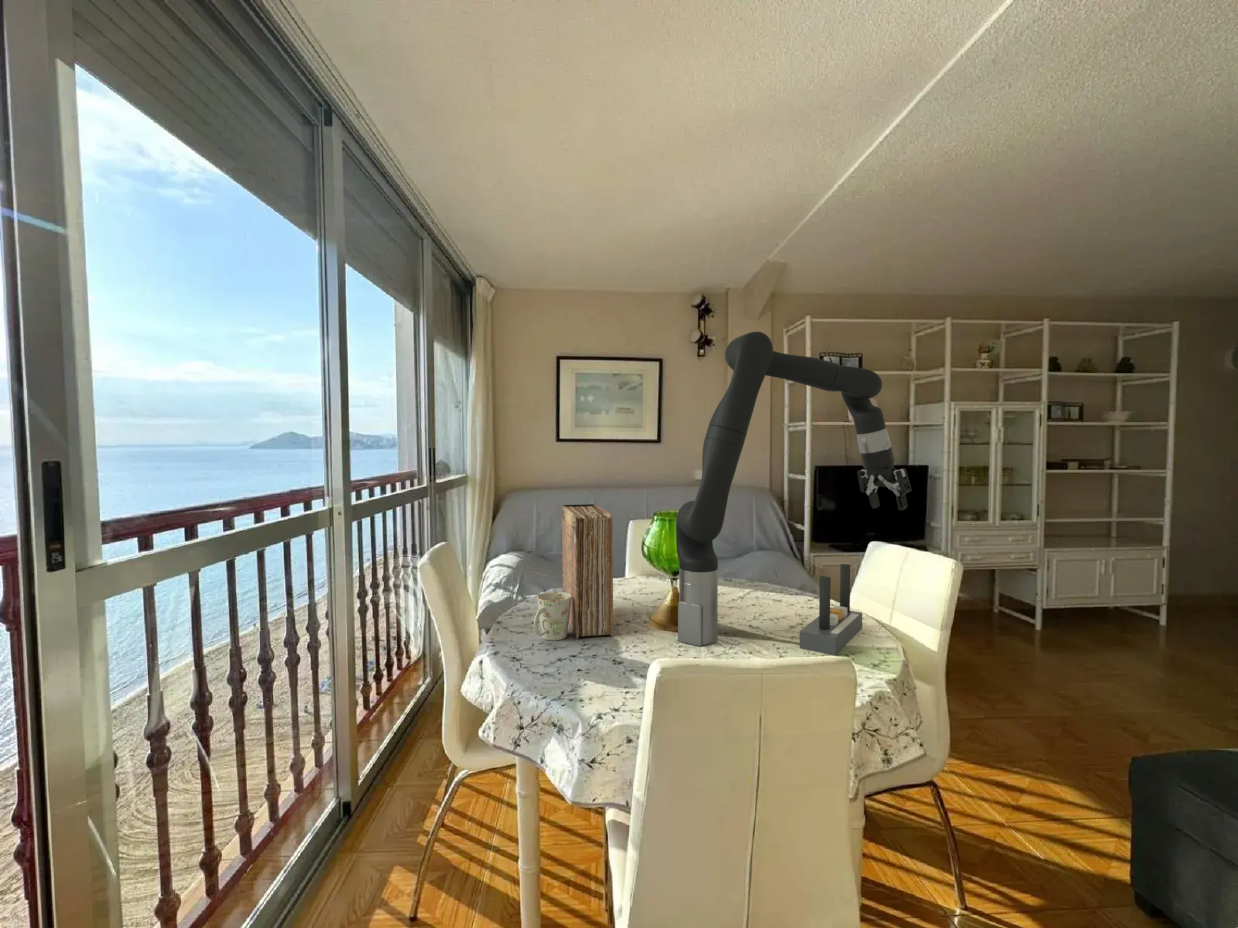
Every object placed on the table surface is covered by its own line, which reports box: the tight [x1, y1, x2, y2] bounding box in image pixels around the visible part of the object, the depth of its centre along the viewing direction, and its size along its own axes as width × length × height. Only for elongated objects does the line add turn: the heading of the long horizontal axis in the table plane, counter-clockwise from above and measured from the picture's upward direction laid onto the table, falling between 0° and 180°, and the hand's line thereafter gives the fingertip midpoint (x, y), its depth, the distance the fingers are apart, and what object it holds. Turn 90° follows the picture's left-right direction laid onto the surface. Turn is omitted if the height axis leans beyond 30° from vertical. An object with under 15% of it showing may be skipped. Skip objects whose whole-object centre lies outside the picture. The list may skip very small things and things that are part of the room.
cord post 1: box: [818, 575, 832, 630], centre depth 139 cm, size 2×2×12 cm
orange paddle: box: [830, 607, 843, 620], centre depth 146 cm, size 2×3×2 cm
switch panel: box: [799, 605, 863, 656], centre depth 144 cm, size 24×8×6 cm, turn 144°
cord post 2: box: [839, 563, 851, 613], centre depth 153 cm, size 2×2×12 cm
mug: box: [533, 591, 571, 641], centre depth 143 cm, size 8×13×10 cm, turn 155°
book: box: [561, 503, 614, 641], centre depth 156 cm, size 25×9×30 cm, turn 13°
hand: (889, 508), depth 153 cm, fingers open, 8 cm apart
